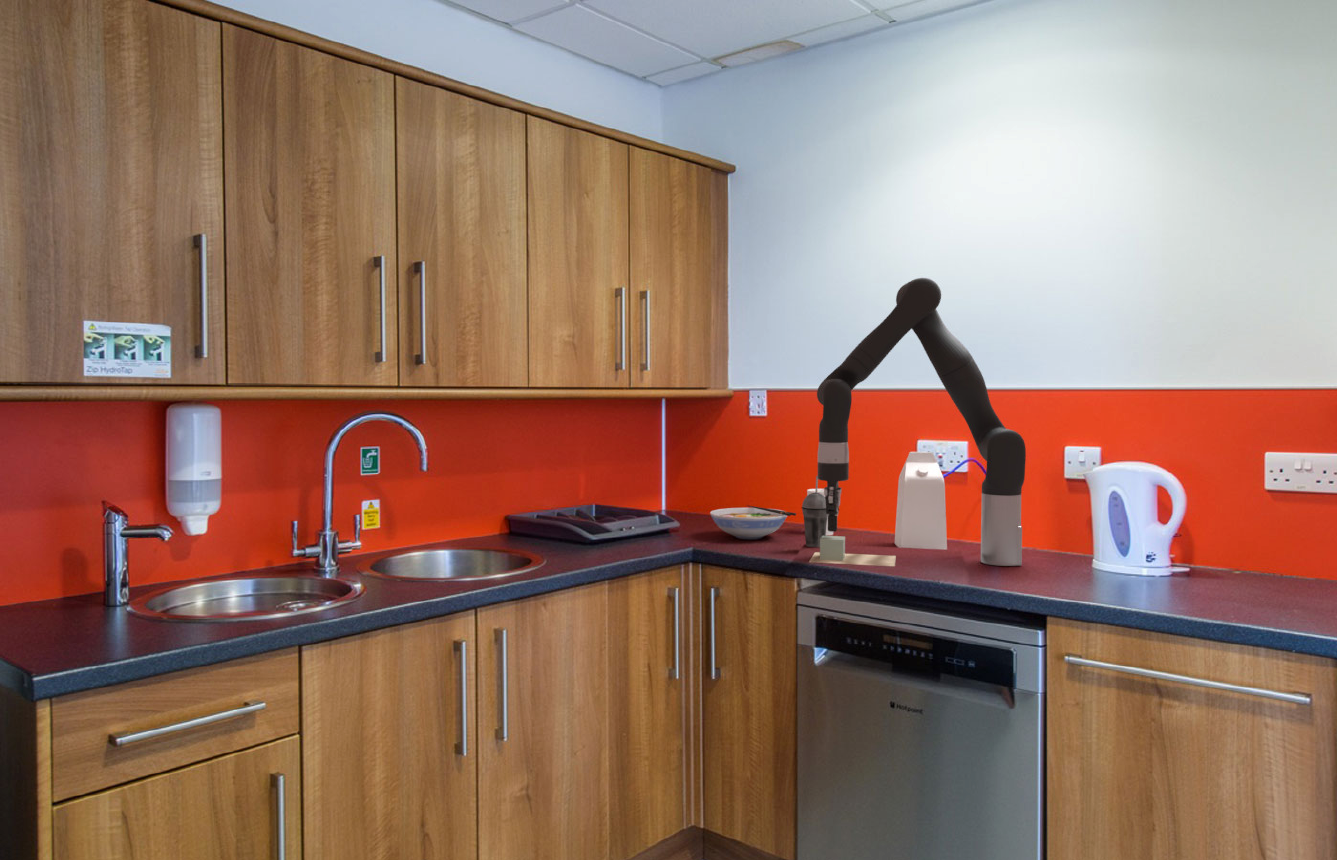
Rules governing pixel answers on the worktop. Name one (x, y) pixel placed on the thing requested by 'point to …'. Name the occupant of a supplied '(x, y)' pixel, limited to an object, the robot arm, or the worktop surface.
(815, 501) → the beverage cup
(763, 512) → the ramen bowl
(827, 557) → the grey-green block
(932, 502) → the milk
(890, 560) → the post board
